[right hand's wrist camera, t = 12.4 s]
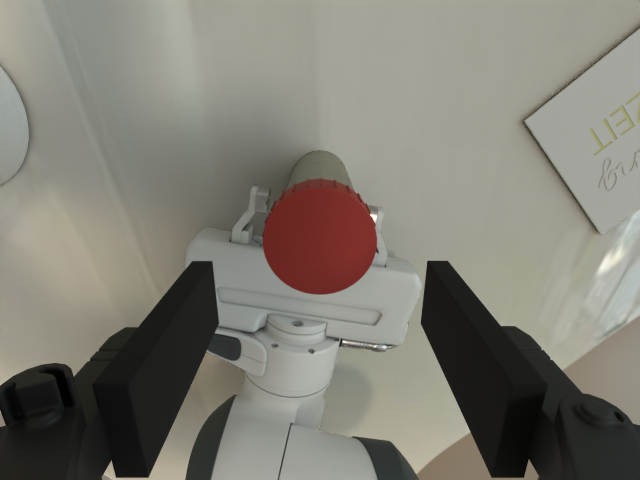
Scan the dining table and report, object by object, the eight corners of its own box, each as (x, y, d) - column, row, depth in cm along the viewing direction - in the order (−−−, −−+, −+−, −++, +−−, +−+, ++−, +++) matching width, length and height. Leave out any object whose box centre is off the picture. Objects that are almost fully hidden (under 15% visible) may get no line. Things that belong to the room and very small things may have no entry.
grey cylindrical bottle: (333, 212, 38) (344, 299, 21) (284, 192, 37) (255, 265, 20) (356, 164, 36) (387, 216, 19) (305, 141, 35) (292, 175, 19)
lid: (345, 291, 23) (348, 311, 21) (252, 254, 22) (244, 271, 20) (390, 203, 21) (399, 215, 19) (290, 159, 20) (286, 166, 18)
